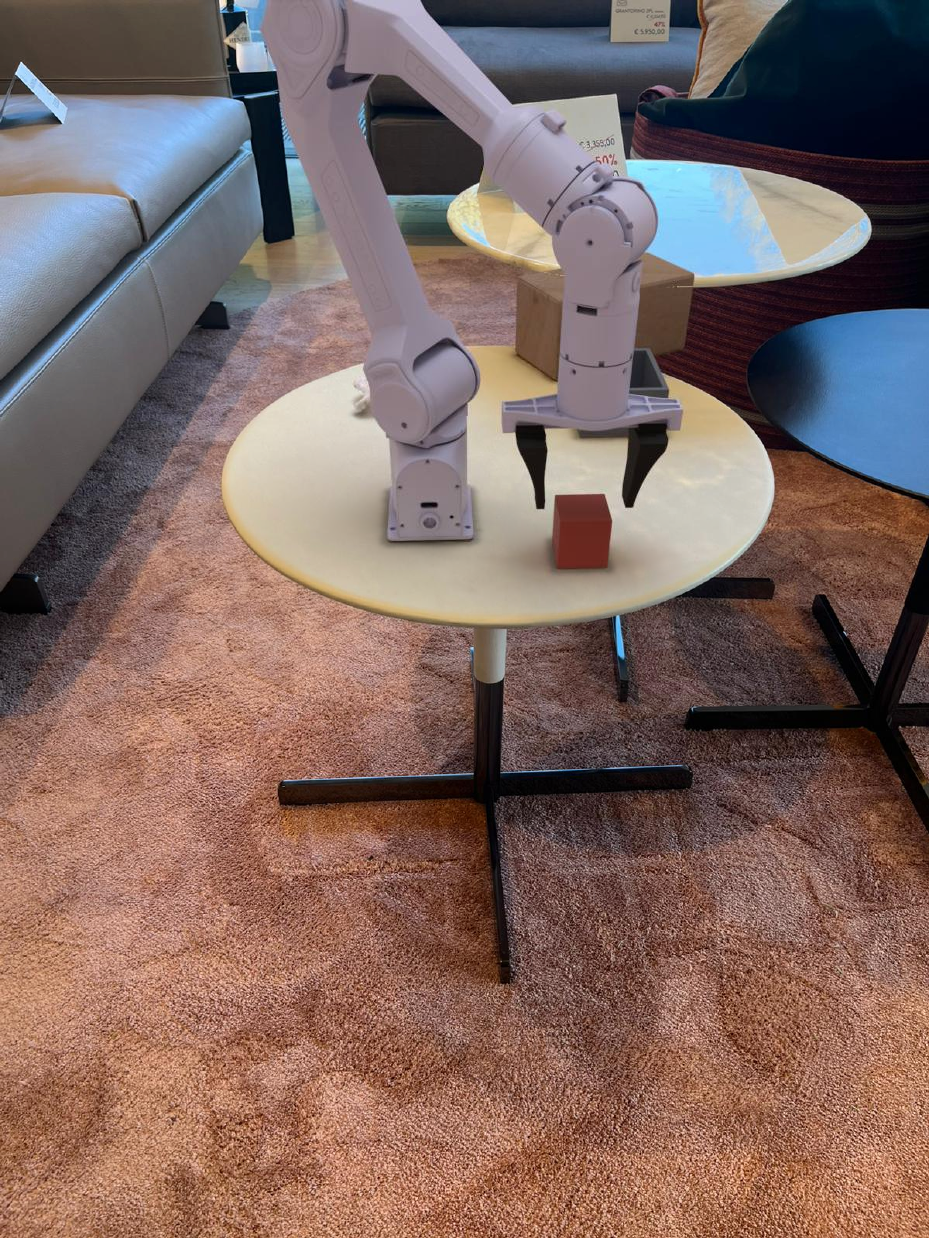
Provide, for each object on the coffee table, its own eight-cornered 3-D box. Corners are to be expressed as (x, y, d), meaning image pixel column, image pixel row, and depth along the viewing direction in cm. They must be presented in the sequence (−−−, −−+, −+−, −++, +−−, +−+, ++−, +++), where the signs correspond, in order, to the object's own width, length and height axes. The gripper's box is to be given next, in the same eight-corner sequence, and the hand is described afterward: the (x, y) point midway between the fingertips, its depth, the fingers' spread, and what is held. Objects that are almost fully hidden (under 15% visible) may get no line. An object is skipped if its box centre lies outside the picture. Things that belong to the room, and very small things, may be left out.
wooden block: (515, 275, 113) (647, 250, 121) (513, 353, 120) (639, 325, 127) (559, 300, 107) (696, 272, 114) (554, 382, 113) (685, 350, 120)
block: (607, 568, 82) (612, 520, 79) (556, 569, 82) (560, 521, 79) (600, 540, 86) (604, 493, 83) (551, 541, 86) (554, 494, 82)
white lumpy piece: (421, 363, 108) (420, 382, 103) (422, 398, 111) (420, 419, 105) (353, 363, 108) (348, 382, 103) (355, 398, 110) (350, 419, 105)
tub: (663, 436, 102) (669, 389, 98) (579, 437, 101) (583, 391, 98) (644, 392, 110) (650, 348, 107) (567, 393, 110) (570, 349, 107)
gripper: (678, 332, 75) (658, 478, 84) (500, 334, 75) (498, 480, 84) (697, 367, 70) (673, 520, 78) (505, 370, 70) (502, 522, 78)
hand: (583, 502), depth 81 cm, fingers open, 7 cm apart
